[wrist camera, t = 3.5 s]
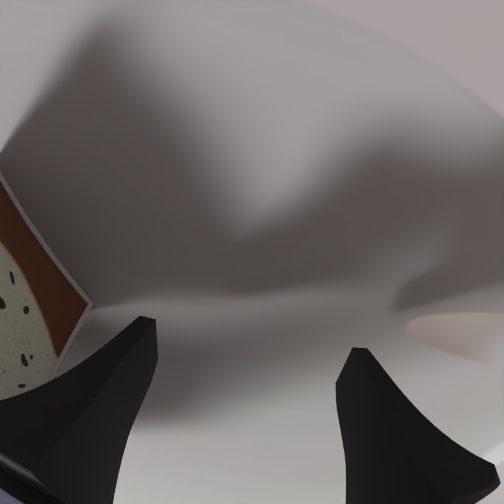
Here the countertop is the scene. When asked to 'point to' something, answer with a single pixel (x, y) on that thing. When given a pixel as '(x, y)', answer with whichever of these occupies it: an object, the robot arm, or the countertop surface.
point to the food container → (33, 303)
